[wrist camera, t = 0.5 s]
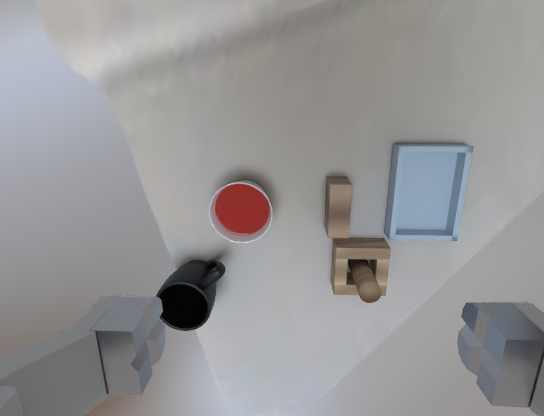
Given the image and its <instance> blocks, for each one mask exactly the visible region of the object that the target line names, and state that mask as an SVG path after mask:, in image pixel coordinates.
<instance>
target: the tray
mask: <svg viewBox="0 0 544 416" xmlns="http://www.w3.org/2000/svg"><path fill="white" fill-rule="evenodd" d="M472 151H473V146H469V145H465V144H393V150H392V160H391V170H390V180H389V190H388V200H387V209H386V219H385V229H384V233H385V234H386V236H387V237H388V239H389V240H434V241H457V239H458V233H459V227H460V221H461V216H462V210H463V204H464V198H465V192H466V186H467V181H468V175H469V169H470V163H471V157H472Z"/></svg>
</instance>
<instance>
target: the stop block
mask: <svg viewBox="0 0 544 416" xmlns="http://www.w3.org/2000/svg"><path fill="white" fill-rule="evenodd" d="M351 195H352V184H351V182H350V181H349V180H348V178H347V177H327V180H326V202H325V224H324V226H325V230H326V233H327V237H328V238H349V224H350V210H351Z"/></svg>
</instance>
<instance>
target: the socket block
mask: <svg viewBox="0 0 544 416" xmlns="http://www.w3.org/2000/svg"><path fill="white" fill-rule="evenodd" d="M390 250H391V249H390V247H389V246H388V244H387V243H386V241H385V240H384V238H333V252H332V270H331V284H332V289H333V293H334V295H359V293H358V290H357V288H356V285H355V282H354V279H353V277H352V274H351V272H347V264H348V259H370V268H371V270H372V272H373V274H374V276H375V278H376V280H377V283H378V285H379V287H380V289H381V296H385V295H386V286H387V277H388V268H389V259H390Z"/></svg>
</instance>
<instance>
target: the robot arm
mask: <svg viewBox="0 0 544 416" xmlns="http://www.w3.org/2000/svg"><path fill="white" fill-rule="evenodd" d="M162 312H163V308H162V302H161V300H160V298H159V297H146V296H121V295H106V296H102V297H101V298H100V299H99V300H98V301H97V302H96V303H95V304H94V305H93V306H92V307H91V308H90V309H89V310H88V311H87V312H86V313H85V314H84V315H83V316H82V317H81V318H80V319H79V320H78V321H77V322H76V323H75V324H74V325H73V326H72V327H71V328H70V329H69V330H68V331H60V332H58V333H56V334H54V335H51V336H49V337H47V338H45V339H43V340H40V341H38V342H36V343H34V344H32V345H29V346H27V347H25V348H23V349H21V350H19V351H16V352H14V353H12V354H10V355H8V356H5V357H3V358H1V359H0V416H84V415H86V414H87V413H88V412H89V411H91V410H92V409H93V408H94V407H95V406H97V405H98V404H99V403H100V402H102V401H103V400H104V399H105V398H106V397H107V395H142V393H143V391H144V389H145V387H146V385H147V384H148V382H149V380H150V378H151V376H152V368H151V366H153V365H154V364H155V363H157V362H158V361H159V360H160V357H161V355H162V353H163V349H164V345H165V325H164V324H163V323H162V322H161V321H160V320H159V317H160V315H161V314H162ZM462 318H463V320H464V321H465V323H466V325H465V326H464V327H463V328H462V329H461V330H460V331H459V334H458V349H459V355H460V357H461V360H462V362H463V363H464V365H465V367H466V368H467V369H468V370H469V371H471V372H472V373H474V374H476V375H477V376H478V377H477V382H476V383H477V385H478V386H479V388H480V389H481V391H482V392H483V394H484V395H485V396H486V398H487V399H488V401H489V402H490V404H491V405H492V406H510V407H526V408H530V410H531V411H532V412H534V413H535V414H536V415H538V416H544V313H543V312H542V311H541V310H539V309H538V308H537V307H536V306H535V305H533V304H531V303H528V302H503V303H502V302H501V303H500V302H497V303H496V302H494V303H466V304H465V306H464V308H463V311H462Z"/></svg>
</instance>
